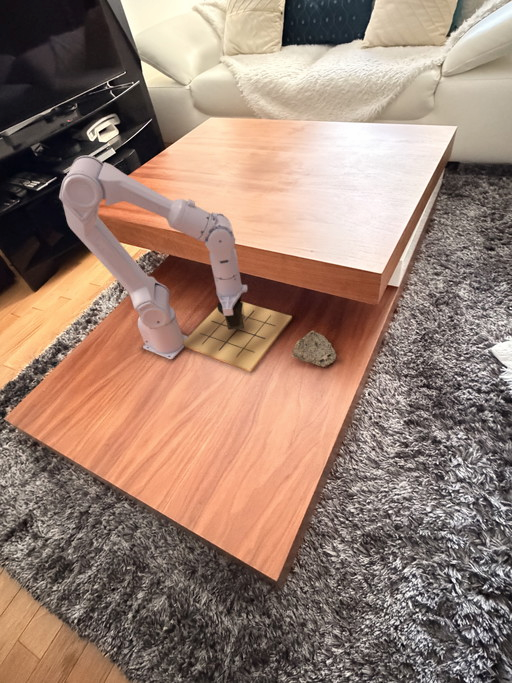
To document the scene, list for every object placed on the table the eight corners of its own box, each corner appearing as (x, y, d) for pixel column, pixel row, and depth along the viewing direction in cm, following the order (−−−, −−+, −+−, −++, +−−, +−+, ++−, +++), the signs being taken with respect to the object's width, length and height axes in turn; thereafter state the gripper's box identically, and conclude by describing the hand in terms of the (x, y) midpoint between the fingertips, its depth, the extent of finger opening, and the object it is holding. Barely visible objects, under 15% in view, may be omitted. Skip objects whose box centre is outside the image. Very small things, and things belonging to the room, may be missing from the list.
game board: (181, 345, 95) (181, 343, 94) (227, 299, 106) (226, 296, 106) (250, 372, 86) (250, 369, 85) (292, 318, 98) (292, 315, 97)
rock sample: (331, 368, 79) (310, 330, 79) (302, 381, 84) (283, 345, 84) (349, 354, 87) (330, 320, 88) (322, 366, 92) (304, 334, 92)
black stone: (244, 328, 93) (241, 312, 89) (228, 329, 93) (224, 313, 90) (245, 317, 96) (242, 301, 92) (229, 319, 96) (225, 303, 93)
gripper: (243, 290, 78) (251, 338, 88) (245, 252, 89) (252, 299, 98) (208, 293, 79) (220, 341, 88) (215, 255, 90) (225, 302, 99)
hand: (235, 319), depth 93 cm, fingers closed on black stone, 4 cm apart
